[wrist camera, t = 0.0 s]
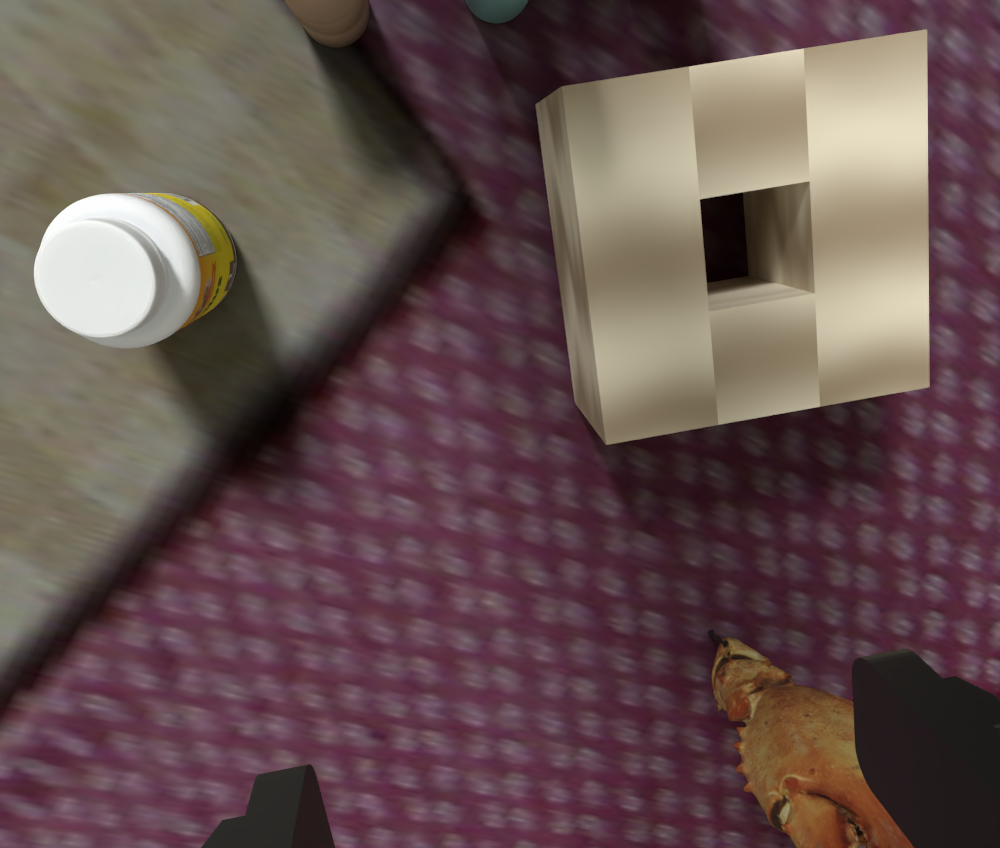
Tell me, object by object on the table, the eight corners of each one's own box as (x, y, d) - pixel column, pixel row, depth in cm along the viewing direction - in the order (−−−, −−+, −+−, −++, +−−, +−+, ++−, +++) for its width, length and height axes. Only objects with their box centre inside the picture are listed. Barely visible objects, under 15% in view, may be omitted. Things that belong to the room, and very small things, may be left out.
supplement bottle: (166, 341, 39) (82, 393, 29) (85, 236, 37) (-33, 255, 27) (266, 275, 38) (214, 305, 28) (189, 167, 37) (106, 160, 27)
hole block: (535, 104, 37) (561, 86, 31) (836, 57, 38) (927, 29, 31) (574, 403, 41) (605, 444, 35) (847, 355, 42) (929, 386, 35)
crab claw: (772, 574, 45) (1038, 859, 26) (807, 646, 46) (1084, 966, 27) (658, 635, 45) (838, 961, 26) (697, 705, 47) (894, 1062, 28)
